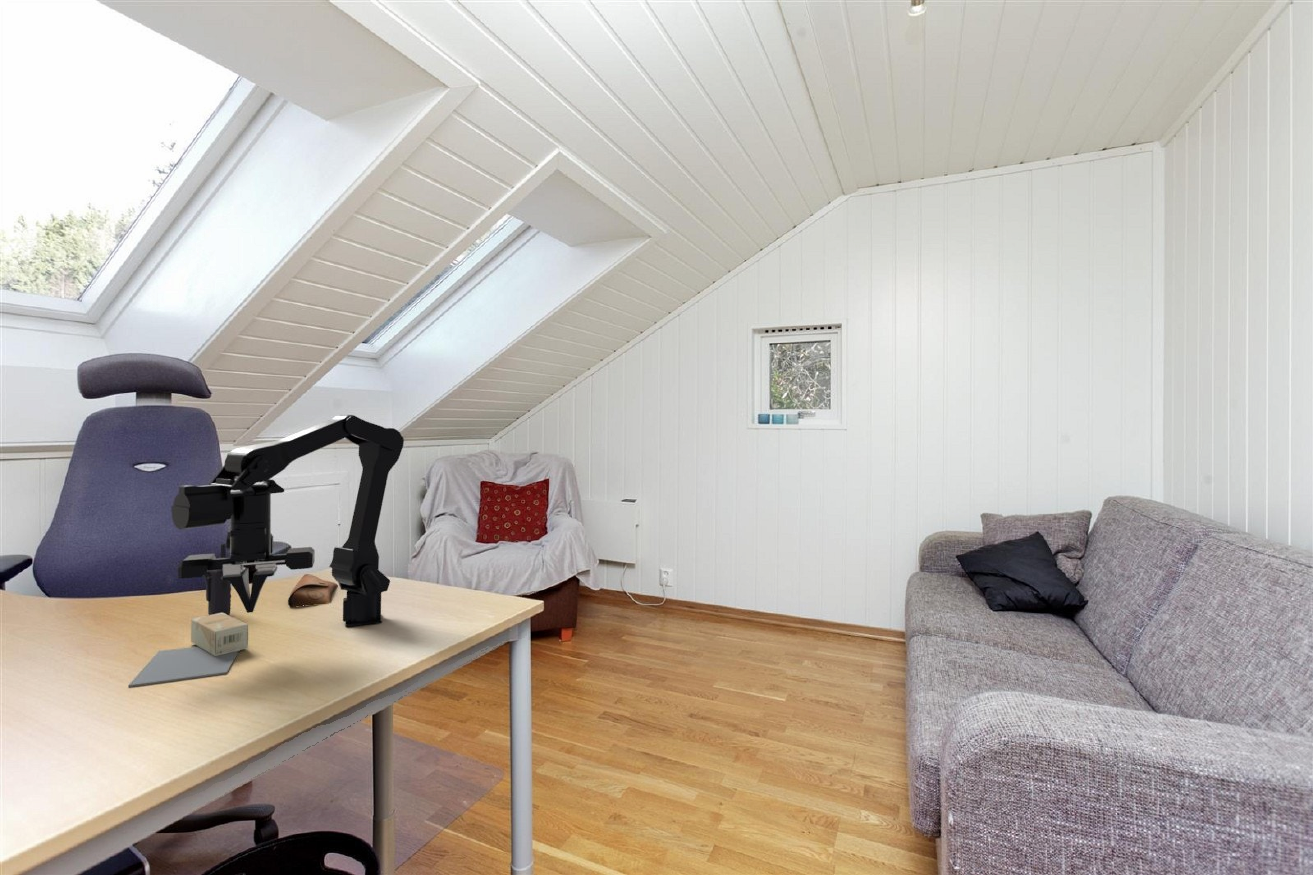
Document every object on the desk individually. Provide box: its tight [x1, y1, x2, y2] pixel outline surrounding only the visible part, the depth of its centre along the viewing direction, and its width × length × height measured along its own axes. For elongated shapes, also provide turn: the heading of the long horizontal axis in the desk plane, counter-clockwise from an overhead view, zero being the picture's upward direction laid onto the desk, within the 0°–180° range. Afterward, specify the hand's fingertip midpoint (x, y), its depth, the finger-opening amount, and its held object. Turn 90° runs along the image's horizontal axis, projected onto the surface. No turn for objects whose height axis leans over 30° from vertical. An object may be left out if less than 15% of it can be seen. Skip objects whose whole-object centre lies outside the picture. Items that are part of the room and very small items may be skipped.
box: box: [190, 613, 249, 656], centre depth 104 cm, size 5×4×11 cm
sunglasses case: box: [287, 573, 338, 608], centre depth 137 cm, size 18×7×7 cm, turn 24°
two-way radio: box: [202, 543, 232, 616], centre depth 121 cm, size 6×4×15 cm
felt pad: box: [127, 646, 240, 688], centre depth 97 cm, size 12×15×1 cm
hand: (250, 611), depth 101 cm, fingers closed
